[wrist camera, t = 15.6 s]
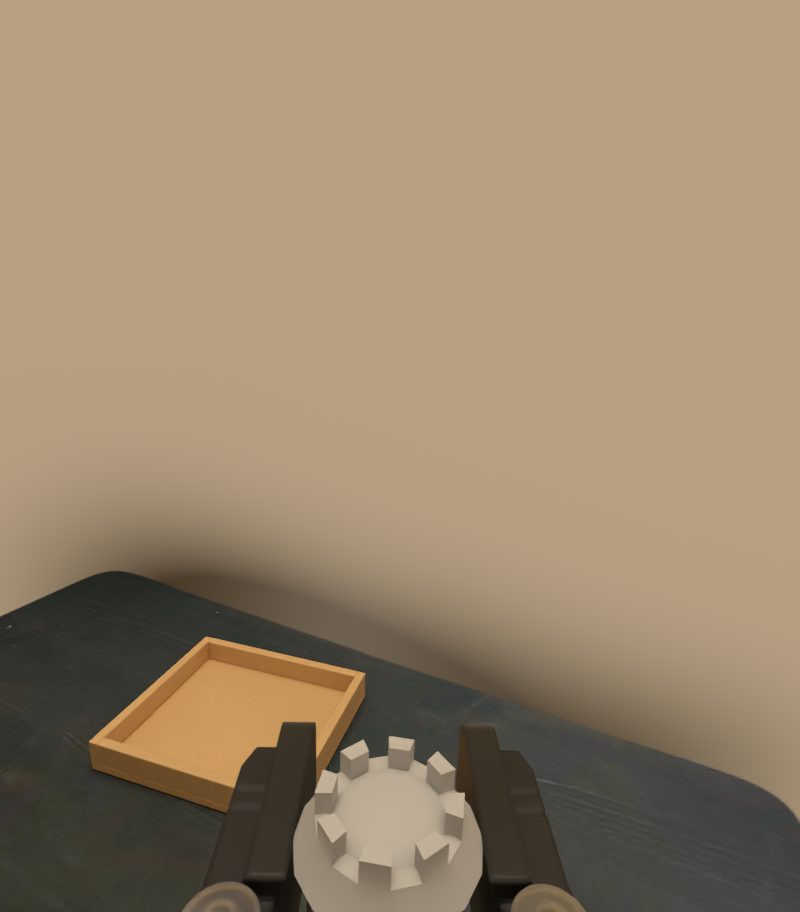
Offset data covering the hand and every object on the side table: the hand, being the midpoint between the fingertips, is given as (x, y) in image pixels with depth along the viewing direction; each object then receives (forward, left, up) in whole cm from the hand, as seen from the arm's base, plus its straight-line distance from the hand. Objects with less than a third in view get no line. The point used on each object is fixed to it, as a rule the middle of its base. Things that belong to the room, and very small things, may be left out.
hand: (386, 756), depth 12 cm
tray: (-15, +16, -18) cm, 28 cm away
